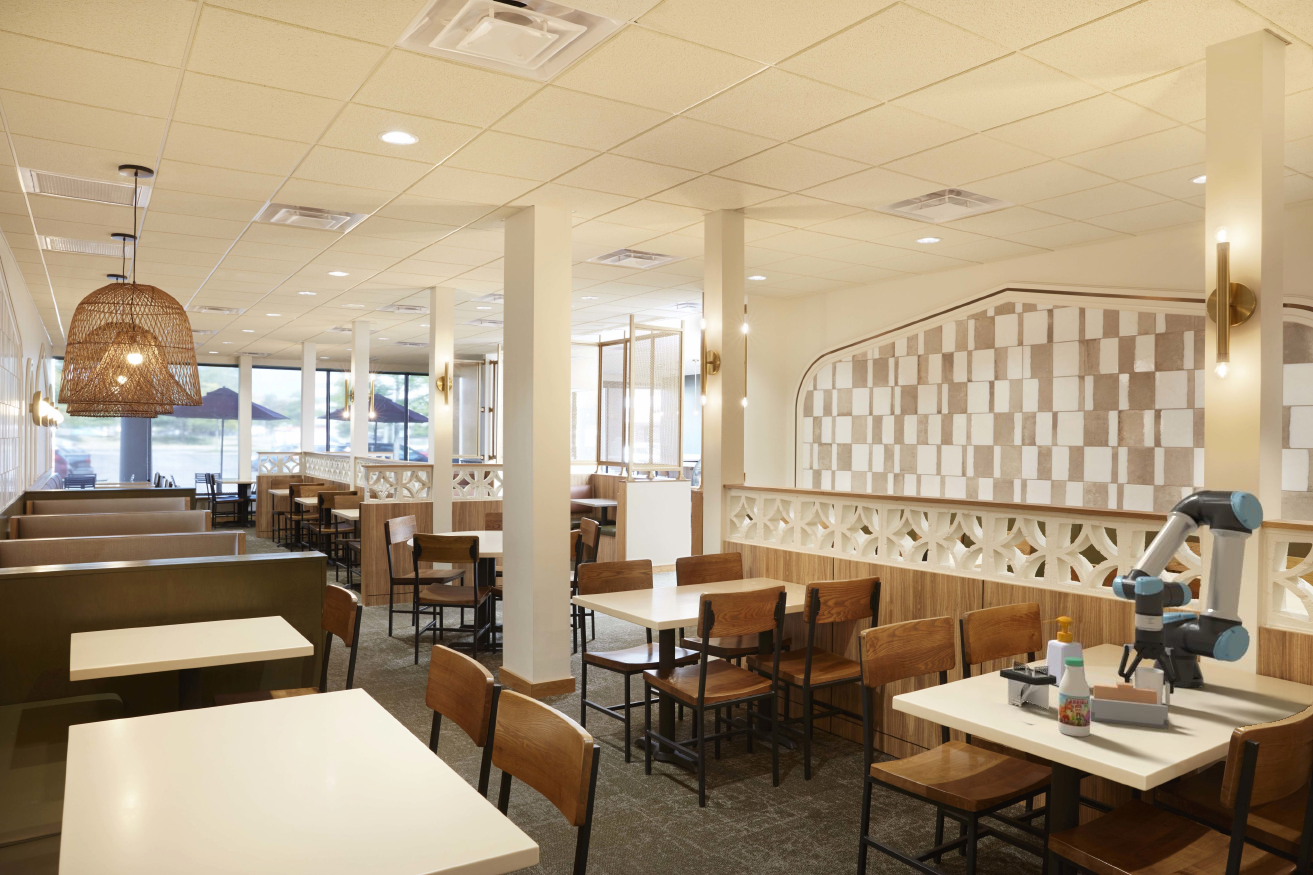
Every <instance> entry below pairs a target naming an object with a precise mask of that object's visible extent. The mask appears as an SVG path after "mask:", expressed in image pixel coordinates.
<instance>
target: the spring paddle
mask: <svg viewBox="0 0 1313 875" xmlns="http://www.w3.org/2000/svg"><path fill="white" fill-rule="evenodd" d="M1115 684H1116V685H1115V686H1113V685H1103V684H1093V698H1096V699H1106V700H1116V701H1126V702H1136V703H1146V704H1156V705H1157V691H1156V690H1147V689H1137V688H1135V685H1134V683H1133V684H1132V683H1125V681H1124V682H1123V681H1122V682H1121V681H1116V682H1115Z"/></svg>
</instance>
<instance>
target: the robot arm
mask: <svg viewBox="0 0 1313 875" xmlns="http://www.w3.org/2000/svg"><path fill="white" fill-rule="evenodd" d="M1166 519H1167V521H1166V522H1165V524H1164V525H1163V526H1162V528H1161V529H1160V530H1159V531H1158V533H1157V534H1156V536H1155V537H1154V539H1153V540H1152V542H1150V544H1149V545H1148V547H1147V548H1146V549H1145V551H1144V552H1143V554H1142V555H1141V556H1140V558H1139V559H1138V560H1137V561H1136V563H1135V565H1134V566H1133V567H1132V569H1131V570H1130V571H1129V572H1128V574H1127V575H1126V574H1122V575H1118V576H1116V577H1115V578H1113V582H1112V591H1113V594H1114V595H1115V596H1116V597H1117V598H1120V599H1123V600H1127V601H1135V602H1134V605H1135V606H1134V607H1135V610H1134V612H1135V613H1134V626H1135V628H1134V642H1133V644H1127V643H1124V644H1123V653H1122V657H1121V660H1120V664H1119V667H1118V670H1117V674H1118V676H1119V677H1121V678H1123V679H1124V683H1132V684H1133V685H1134V683H1133V678H1131V677H1132V676H1133V674H1134V671H1135V669H1136V668H1137V667H1139V664H1140V663H1141V661H1142V660H1153V661H1154V663H1153V666H1152V668H1156V669H1160V670H1162V671H1164V682H1163V685H1164V688H1165V692H1164V694H1165V697H1164V698H1165V699H1164V700H1165V702H1164V703H1165V705H1166V706H1170V705H1171V695H1174V692H1175V687H1177V686H1178V688H1190V687H1192V688H1201V687H1204V685H1205V683H1204V682H1205V681H1204V676H1203V673H1202V670H1201V667H1200V664H1199V661H1198V656H1201V657H1205V658H1210V659H1214V660H1216V661H1220V662H1222V661H1223V662H1230V663H1233V662H1234V663H1235V662H1237V661H1239V660H1241V659H1242V657H1244V656H1245V654H1246V653H1247V651H1248V649H1249V647H1250V642H1251V640H1250V635H1249V631H1248V629H1247V628H1246V627H1244V626H1243V619H1241V617H1240V616H1239V614H1238V611H1239V604H1240V595H1241V594H1240V593H1241V586H1242V578H1243V576H1242V575H1243V569H1244V568H1243V567H1244V559H1245V551H1246V550H1245V548H1246V541H1247V539H1249V538H1251V537H1252V536H1253V531H1254V530H1257V529H1259V528H1260V527H1261V525H1262V523H1263V521H1264V511H1263V507H1262V504H1261V502H1260V500H1259V499H1258V498H1257V496H1255V495H1254V494H1253V493H1251V492H1243V491H1237V490H1234V491H1233V490H1229V491H1228V490H1211V489H1206V490H1205V489H1203V490H1199V491H1196V492H1193V493H1191V494H1189V495H1187V496H1186V497H1184V498H1183V499H1182V500H1180V501H1179V502H1178V503H1176V504H1175V506H1173V508H1171V510H1170V511H1169V513H1168V514H1167V515H1166ZM1203 526H1209V527H1208V528H1209V532H1210V533H1211V534H1212V535H1213V542H1212V543H1213V544H1212V551H1211V558H1210V559H1211V560H1210V568H1209V576H1208V577H1209V578H1208V587H1207V594H1206V603H1205V604H1206V605H1205V609H1204V610H1203V611H1201V612H1199V616H1198V614H1197V612H1189V611H1188V612H1185V611H1184V612H1183V611H1181V612H1180V611H1178V612H1177V611H1173V612H1164V608H1180V607H1183V606H1187V605H1189V603H1191V600H1192V598H1193V594H1192V590H1191V588H1190V586H1189V585H1187V584H1186V583H1184V582H1181V581H1164V580H1163V579H1162V578H1160V575H1161V574H1162V572H1163V571H1164V570H1165V569H1166V568H1167V566H1168V564H1169V563H1170V562H1171V560H1172V559H1173V558H1174V557H1175V555H1176V554H1177V552H1178V551H1179V550H1180V548H1181V546H1182V545H1183V544H1184V543H1185V541H1186V540H1187V539H1188V537H1189V536H1190V534H1193V533H1196V532H1197V531H1198V529H1199V528H1200V527H1203ZM1133 649H1134V650H1135V651H1136V654H1135V657H1134V659H1133V661H1132V662H1131V663H1130V665H1129V667H1128V668H1127V670H1126V666H1127V664H1128V661H1129V656H1130V653H1131V652H1132V651H1133ZM1125 670H1126V672H1125Z"/></svg>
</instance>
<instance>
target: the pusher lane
mask: <svg viewBox="0 0 1313 875" xmlns="http://www.w3.org/2000/svg"><path fill="white" fill-rule="evenodd" d="M1168 714H1169V708H1168V705H1167V704H1165V705H1164V704H1162V705H1156V704H1146V703H1136V702H1126V701H1116V700H1106V699H1096V698H1094V697H1090V722H1091V721H1092V722H1101V723H1111V724H1119V725H1128V726H1135V727H1136V726H1139V727H1146V728H1157V729H1164V728H1167V729H1169V715H1168ZM1167 729H1166V730H1167Z"/></svg>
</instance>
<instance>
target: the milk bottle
mask: <svg viewBox="0 0 1313 875" xmlns="http://www.w3.org/2000/svg"><path fill="white" fill-rule="evenodd" d="M1084 663H1085V661H1084V658H1083V659H1080V658H1075V657H1067V658H1065V666H1066V670H1065V673H1064V676H1063V678H1062V680H1061V682H1060V685H1059V686H1058V704H1057V705H1058V706H1057V707H1058V711H1057V712H1058V716H1057V717H1058V719H1057V720H1058V721H1057V722H1058V723H1057V725H1058V726H1057V727H1058V731H1059V732H1060V733H1062V734H1064V735H1067V736H1072V737H1088V736H1089V735H1090V734H1091V719H1090V700H1091V696H1090V695H1091V694H1090V693H1091V692H1090V687H1089V684H1088V682H1087V680H1086V676H1085V677H1084V674H1083V668H1084V669H1085V664H1084ZM1083 665H1084V667H1083Z"/></svg>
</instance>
